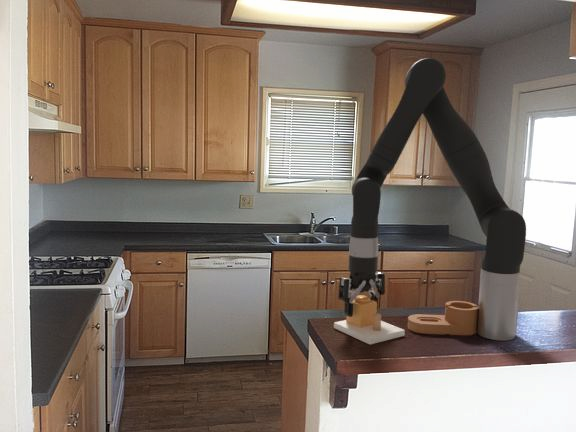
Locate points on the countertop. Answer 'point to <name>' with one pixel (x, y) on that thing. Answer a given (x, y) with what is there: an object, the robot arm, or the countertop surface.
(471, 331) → the bracket
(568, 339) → the countertop surface
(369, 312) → the cube with dome top
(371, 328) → the plate
